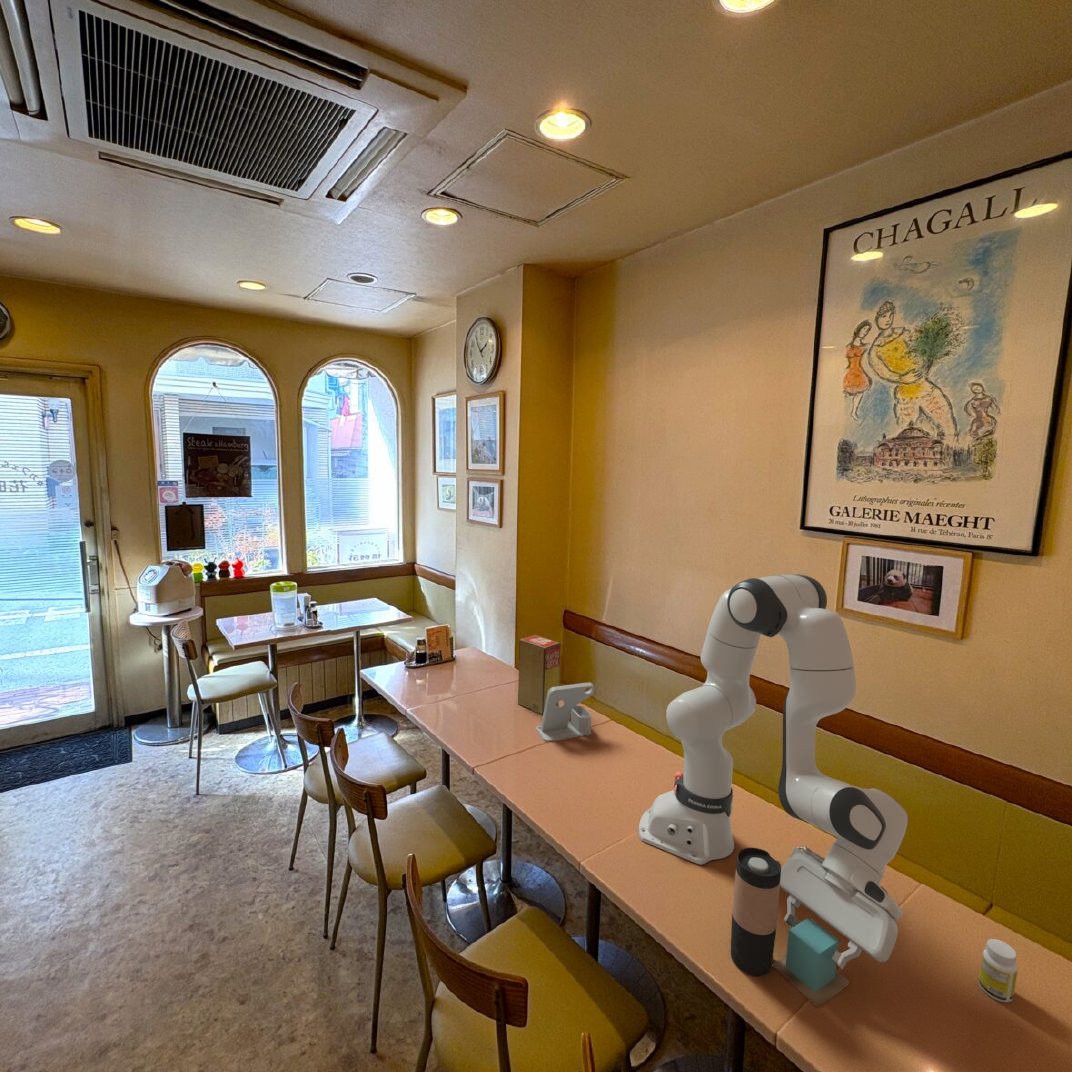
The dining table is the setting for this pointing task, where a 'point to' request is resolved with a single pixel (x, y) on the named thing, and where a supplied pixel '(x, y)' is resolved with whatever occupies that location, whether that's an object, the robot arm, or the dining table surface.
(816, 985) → the teal rectangular block
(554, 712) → the phone holder
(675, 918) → the dining table surface
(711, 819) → the robot arm
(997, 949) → the supplement bottle
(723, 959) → the dining table surface
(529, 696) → the food packaging
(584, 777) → the dining table surface
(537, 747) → the dining table surface
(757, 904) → the travel mug
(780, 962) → the flat square base
